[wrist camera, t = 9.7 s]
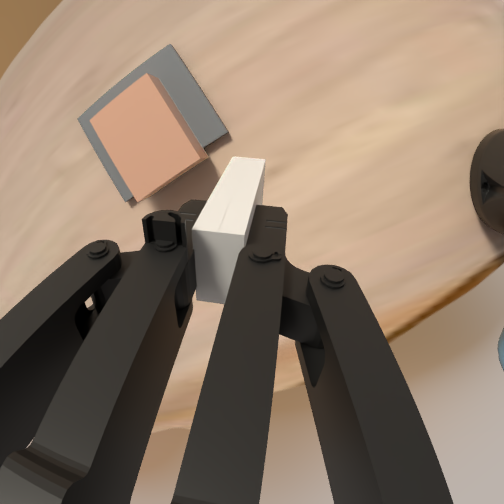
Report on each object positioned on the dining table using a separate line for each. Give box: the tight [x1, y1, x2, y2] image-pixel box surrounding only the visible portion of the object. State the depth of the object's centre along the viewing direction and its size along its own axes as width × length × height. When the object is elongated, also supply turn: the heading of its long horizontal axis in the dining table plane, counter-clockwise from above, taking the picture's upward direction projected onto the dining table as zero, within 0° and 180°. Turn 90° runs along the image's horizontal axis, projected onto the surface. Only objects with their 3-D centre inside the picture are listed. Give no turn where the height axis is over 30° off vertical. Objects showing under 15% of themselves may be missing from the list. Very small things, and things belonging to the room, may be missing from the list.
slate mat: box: [78, 44, 228, 202], centre depth 36 cm, size 14×16×1 cm
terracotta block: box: [89, 73, 208, 202], centre depth 35 cm, size 4×9×12 cm
